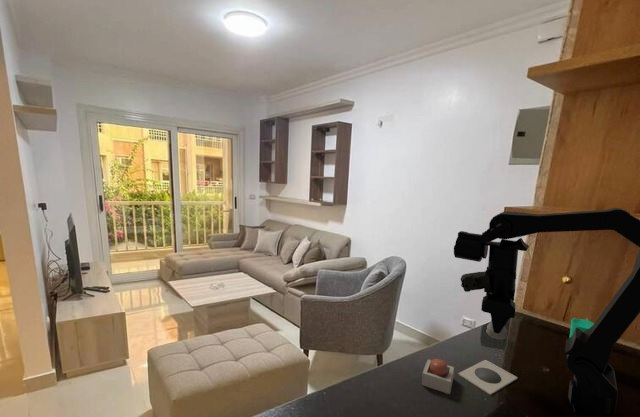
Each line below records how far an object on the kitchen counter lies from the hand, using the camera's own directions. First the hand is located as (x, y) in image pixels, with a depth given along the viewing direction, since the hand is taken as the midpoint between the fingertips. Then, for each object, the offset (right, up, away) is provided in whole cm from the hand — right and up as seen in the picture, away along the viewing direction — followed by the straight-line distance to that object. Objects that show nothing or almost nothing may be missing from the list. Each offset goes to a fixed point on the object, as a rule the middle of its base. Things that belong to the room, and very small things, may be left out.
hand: (497, 328), depth 74 cm
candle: (+26, -11, +6) cm, 28 cm away
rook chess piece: (0, -2, 0) cm, 2 cm away
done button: (-15, -10, -2) cm, 18 cm away
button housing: (-15, -12, -2) cm, 19 cm away
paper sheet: (-2, -12, 0) cm, 12 cm away
